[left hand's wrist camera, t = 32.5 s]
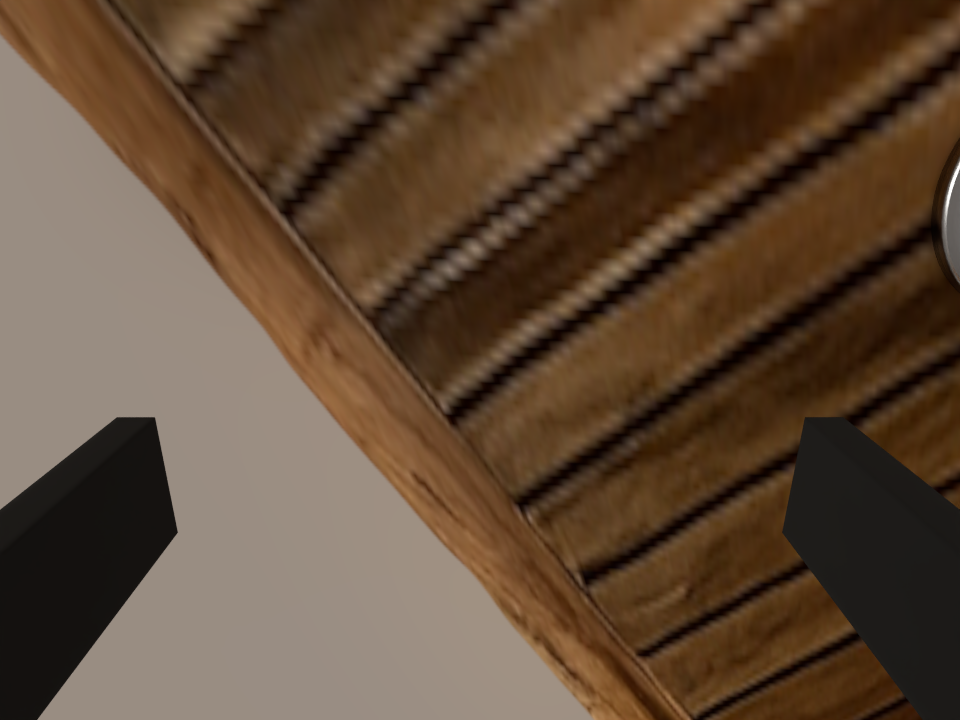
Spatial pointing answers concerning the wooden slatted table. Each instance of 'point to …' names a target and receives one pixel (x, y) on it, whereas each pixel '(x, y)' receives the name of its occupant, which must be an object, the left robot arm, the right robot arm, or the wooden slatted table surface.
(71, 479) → the left robot arm
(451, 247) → the wooden slatted table surface
